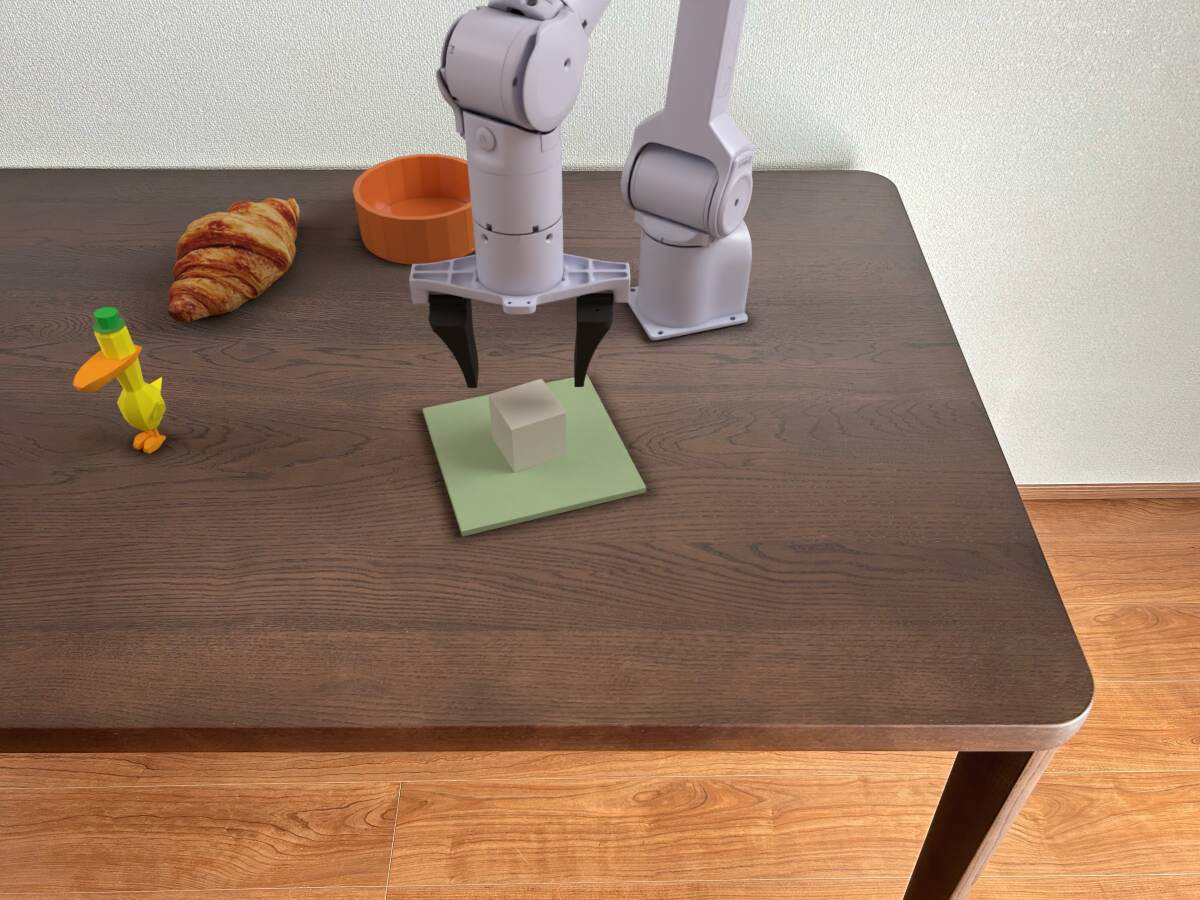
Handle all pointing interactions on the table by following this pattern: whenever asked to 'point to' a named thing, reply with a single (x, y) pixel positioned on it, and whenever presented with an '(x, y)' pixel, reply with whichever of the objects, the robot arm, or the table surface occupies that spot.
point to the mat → (557, 486)
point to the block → (528, 425)
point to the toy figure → (124, 378)
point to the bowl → (416, 209)
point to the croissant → (232, 257)
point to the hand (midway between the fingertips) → (526, 378)
